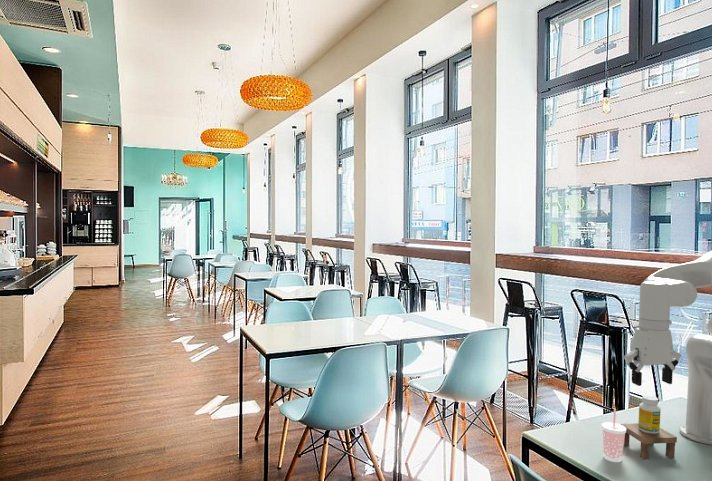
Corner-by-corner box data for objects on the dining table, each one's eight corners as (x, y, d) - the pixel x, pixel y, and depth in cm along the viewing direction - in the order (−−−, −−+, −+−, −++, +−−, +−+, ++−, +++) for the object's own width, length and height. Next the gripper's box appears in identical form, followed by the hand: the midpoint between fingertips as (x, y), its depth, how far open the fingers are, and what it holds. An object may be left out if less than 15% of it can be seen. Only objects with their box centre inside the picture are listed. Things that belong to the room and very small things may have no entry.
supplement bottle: (644, 425, 150) (645, 393, 150) (663, 431, 146) (664, 398, 145) (634, 429, 147) (636, 396, 147) (653, 435, 143) (655, 402, 142)
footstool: (650, 442, 152) (651, 422, 152) (675, 458, 143) (676, 437, 142) (619, 443, 151) (620, 424, 151) (643, 459, 141) (644, 438, 141)
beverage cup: (605, 451, 146) (608, 403, 145) (628, 459, 141) (631, 409, 141) (596, 457, 142) (598, 408, 141) (619, 465, 137) (622, 414, 137)
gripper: (670, 320, 150) (668, 377, 151) (617, 322, 147) (615, 380, 148) (691, 326, 143) (688, 386, 144) (635, 328, 140) (633, 389, 141)
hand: (651, 383), depth 146 cm, fingers open, 9 cm apart
